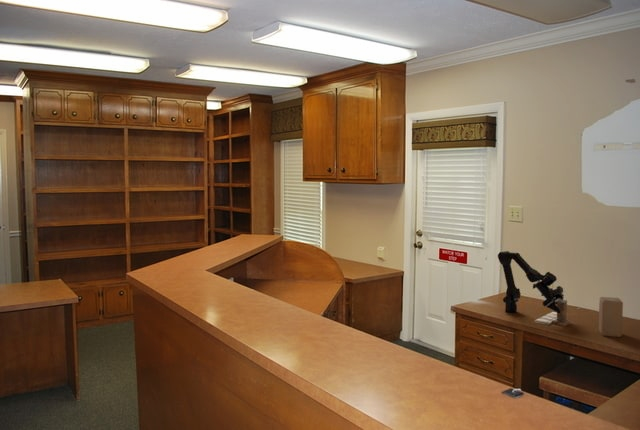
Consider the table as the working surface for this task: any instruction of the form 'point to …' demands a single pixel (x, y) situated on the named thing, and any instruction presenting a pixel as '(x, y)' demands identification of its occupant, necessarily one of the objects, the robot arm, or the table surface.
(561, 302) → the square column stand
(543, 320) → the ash board
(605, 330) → the wooden block
